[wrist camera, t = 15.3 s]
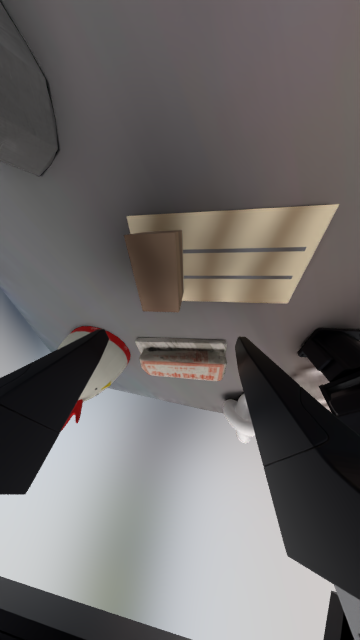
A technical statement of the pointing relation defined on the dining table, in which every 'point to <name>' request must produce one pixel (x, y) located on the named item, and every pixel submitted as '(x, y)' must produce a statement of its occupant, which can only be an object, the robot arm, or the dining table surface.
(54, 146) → the coffeepot
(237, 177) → the dining table surface
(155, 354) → the packaged product
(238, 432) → the white knot sculpture
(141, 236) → the block
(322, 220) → the board
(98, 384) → the kitchen timer
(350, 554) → the robot arm
